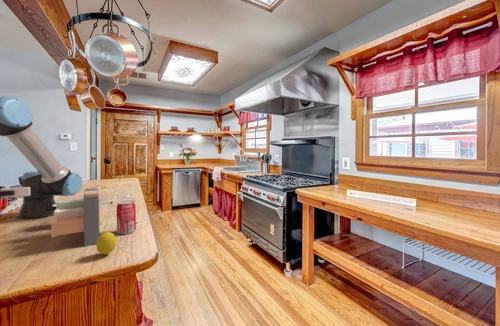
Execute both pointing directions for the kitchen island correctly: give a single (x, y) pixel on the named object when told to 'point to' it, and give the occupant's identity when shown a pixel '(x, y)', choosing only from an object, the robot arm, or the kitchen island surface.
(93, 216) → the key panel
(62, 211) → the ivory key
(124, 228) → the soda can
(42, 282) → the kitchen island surface
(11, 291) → the kitchen island surface
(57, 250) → the kitchen island surface
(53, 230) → the terracotta key
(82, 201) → the sage key
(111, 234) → the lemon
